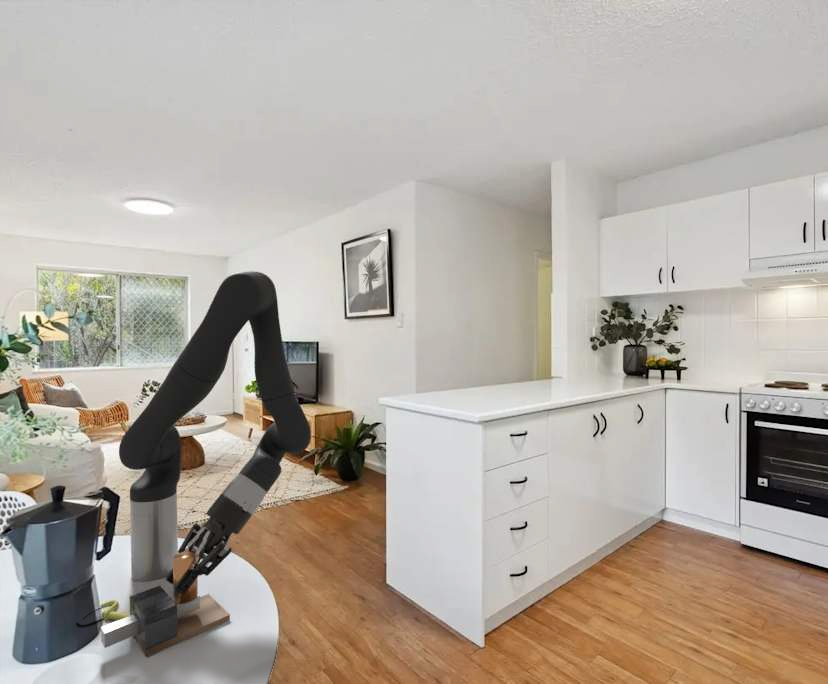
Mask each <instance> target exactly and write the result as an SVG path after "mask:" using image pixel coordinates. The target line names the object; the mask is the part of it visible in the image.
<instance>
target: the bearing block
mask: <svg viewBox="0 0 828 684" xmlns="http://www.w3.org/2000/svg"><path fill="white" fill-rule="evenodd" d="M172 599H173V598H172V597H171V596H170V595H169V594H168V592H166V591H165V589H164V588H163V587H162V586H161V585H158V586H155V587H152V588H149V589H145V590H143V591H140V592H138V593H135V594H132V595H129V614H130V616H131V615H134V614H137V616H138V617H139V619H140V634H138V635H136V636H137V638H138V640H139V641H140V643H141V644H142V646H143V647H144V649H145V650H147V649H150V648H152V647H154V646H157V645H159V644H161V643H163V642H166V641H168V640H170V639H172V638H175V637H177V604H176V603H175V602H174V601H173V600H172Z"/></svg>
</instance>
